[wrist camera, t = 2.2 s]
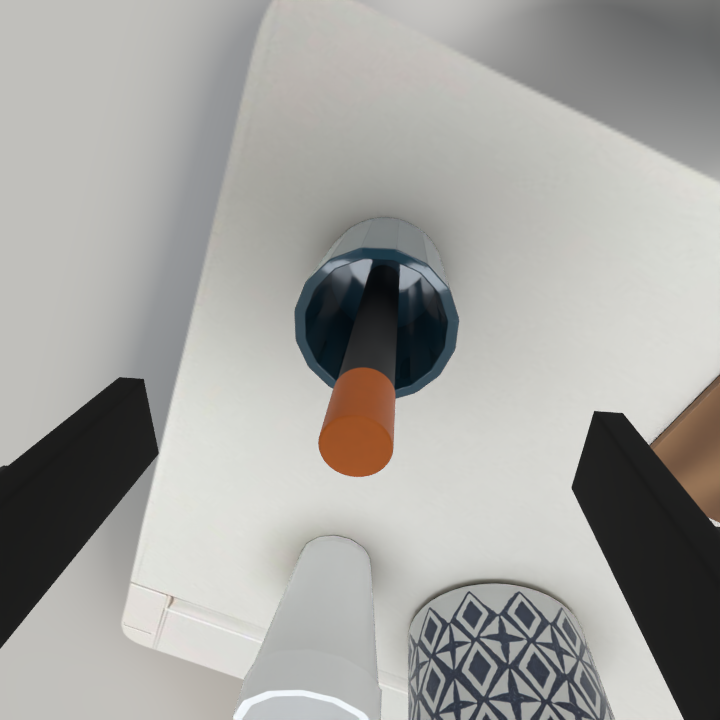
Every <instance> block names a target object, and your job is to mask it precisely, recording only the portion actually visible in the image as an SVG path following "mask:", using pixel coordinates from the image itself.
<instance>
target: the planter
mask: <svg viewBox="0 0 720 720" xmlns="http://www.w3.org/2000/svg"><path fill="white" fill-rule="evenodd" d="M408 720H615V718H614V715H613V713H612V710H611V707H610V704H609V702H608V699H607V696H606V693H605V691H604V688H603V685H602V683H601V680H600V677H599V674H598V672H597V669H596V666H595V663H594V661H593V658H592V655H591V652H590V650H589V647H588V644H587V642H586V639H585V636H584V634H583V631H582V628H581V626H580V624H579V622H578V620H577V619H576V618H575V616H574V615H573V614H572V613H571V612H570V610H569V609H567V608H566V607H565V606H564V605H563V604H561V603H560V602H559V601H557V600H555V599H553V598H552V597H550V596H548V595H546V594H543V593H541V592H539V591H536V590H533V589H529V588H526V587H522V586H516V585H510V584H478V585H472V586H466V587H462V588H459V589H455V590H452V591H450V592H447V593H445V594H442V595H440V596H439V597H437V598H435V599H433V600H432V601H430V602H429V603H428V604H427V605H425V606H424V607H423V608H422V609H421V610H420V611H419V613H418V614H417V615H416V616H415V618H414V620H413V622H412V623H411V626H410V630H409V637H408Z"/></svg>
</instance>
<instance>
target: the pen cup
mask: <svg viewBox="0 0 720 720" xmlns="http://www.w3.org/2000/svg"><path fill="white" fill-rule="evenodd" d="M380 265H386V266H389V267H392V268H393V269H394V270H395V271H396V272H397V274H398V276H399V302H398V323H397V343H396V364H395V385H394V390H395V399H396V398H399V397H403V396H407V395H410V394H414V393H415V392H418V391H419V390H420V389H422V388H423V387H424V386H426V385H427V384H428V383H430V382H431V381H433V380H434V379H435V378H437V377H438V376H439V375H440V374H441V372H442V371H443V369H444V367H445V366H446V364H447V362H448V361H449V359H450V357H451V356H452V354H453V353H454V351H455V348H456V340H457V333H458V325H459V317H458V314H457V310H456V307H455V304H454V301H453V297H452V294H451V291H450V287H449V284H448V281H447V278H446V274H445V271H444V268H443V265H442V261H441V258H440V255H439V251H438V250H437V248H436V247H435V245H434V243H433V242H432V241H431V239H430V238H429V237H428V236H427V235H426V234H425V233H424V232H423V231H422V230H420V229H419V228H418V227H416V226H414V225H413V224H411V223H409V222H406V221H404V220H400V219H396V218H389V217H379V218H373V219H369V220H365V221H362V222H360V223H358V224H356V225H354V226H353V227H351V228H349V229H348V230H347V231H346V232H345V233H344V234H343V235H342V236H341V237H340V238H339V239H338V240H337V241H336V242H335V243H334V244H333V245H332V247H331V248H330V250H329V251H328V252H327V254H326V255H325V256H324V258H323V259H322V260H321V262H320V263H319V265H318V266H317V267H316V269H315V270H314V271H313V273H312V274H311V276H310V277H309V278H308V280H307V281H306V283H305V285H304V287H303V290H302V292H301V295H300V297H299V300H298V302H297V305H296V307H295V336H296V342H297V344H298V346H299V348H300V350H301V352H302V354H303V356H304V359H305V361H306V363H307V365H308V366H309V368H310V369H311V370H312V371H313V372H314V373H315V374H317V375H318V376H319V377H320V378H321V379H322V380H323V381H324V382H325V383H326V384H327V385H328V386H329V387H331V388H333V389H334V386H335V383H336V381H337V380H338V377H339V374H340V370H341V367H342V363H343V360H344V356H345V353H346V350H347V346H348V343H349V339H350V336H351V332H352V329H353V325H354V322H355V319H356V315H357V312H358V308H359V305H360V301H361V298H362V295H363V291H364V288H365V284H366V281H367V277H368V275H369V273H370V271H371V270H372V269H373V268H375V267H377V266H380Z"/></svg>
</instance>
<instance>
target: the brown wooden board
mask: <svg viewBox="0 0 720 720" xmlns="http://www.w3.org/2000/svg"><path fill="white" fill-rule="evenodd" d="M650 447H651V449H652V450H653V451H654V452H655V453H656V455H657V456H658V457H659V458H660V460H661V461H662V462H663V463H664V464H665V466H666V467H667V468H668V469H669V471H670V472H671V473H672V474H673V475H674V477H675V478H676V479H677V480H678V482H679V483H680V484H681V485H682V486H683V488H684V489H685V490H686V491H687V493H688V494H689V495H690V496H691V498H692V499H693V500H694V501H695V502H696V504H697V505H698V506H699V507H700V509H701V510H702V511H703V512H704V513H705V515H706V516H707V517H709V518H711V519H713V520H715V521H717V522H719V523H720V375H719V376H718V377H717V378H716V379H715V381H714V382H713V383H712V384H711V385H710V386H709V387H708V388H707V389H706V390H705V391H704V392H703V393H702V394H701V395H700V396H699V397H698V398H697V399H696V400H695V401H694V402H693V403H692V404H691V405H690V406H689V407H688V408H687V409H686V410H685V411H684V412H683V413H682V414H681V415H680V416H679V417H678V418H677V419H676V420H675V421H674V422H673V423H672V424H671V425H670V426H669V427H668V428H667V429H666V430H665V431H664V432H663V433H662V434H661V435H660V436H659V437H658V438H657V439H656V440H655V441H654V442H653V443H652V444H651V445H650Z"/></svg>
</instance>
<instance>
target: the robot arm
mask: <svg viewBox="0 0 720 720" xmlns="http://www.w3.org/2000/svg"><path fill="white" fill-rule="evenodd" d="M158 454H159V452H158V447H157V442H156V438H155V432H154V427H153V423H152V418H151V413H150V408H149V403H148V398H147V393H146V389H145V383H144V379H135V378H122V377H119V378H118V379H117V380H115V381H114V382H113V383H112V384H110V385H109V386H108V387H106V388H105V389H104V390H103V391H101V392H100V393H99V394H98V395H96V396H95V397H94V398H93V399H91V400H90V401H89V402H88V403H87V404H85V405H84V406H83V407H81V408H80V409H79V410H78V411H76V412H75V413H74V414H73V415H71V416H70V417H69V418H68V419H66V420H65V421H64V422H63V423H61V424H60V425H59V426H58V427H57V428H55V429H54V430H53V431H51V432H50V433H49V434H48V435H46V436H45V437H44V438H42V439H41V440H40V441H39V442H37V443H36V444H35V445H34V446H32V447H31V448H30V449H29V450H27V451H26V452H25V453H24V454H23V455H21V456H20V457H19V458H18V459H16V460H15V461H14V462H12V463H11V464H10V465H9V466H2V467H0V648H1V647H2V646H3V645H4V643H5V642H6V641H7V640H8V639H9V637H10V636H11V635H12V634H13V632H14V631H15V630H16V629H17V627H18V626H19V625H20V624H21V623H22V621H23V620H24V619H25V618H26V616H27V615H28V614H29V613H30V611H31V610H32V609H33V608H34V607H35V605H36V604H37V603H38V602H39V600H40V599H41V598H42V597H43V595H44V594H45V593H46V592H47V591H48V589H49V588H50V587H51V585H52V584H53V583H54V582H55V581H56V579H57V578H58V577H59V576H60V575H61V573H62V572H63V571H64V570H65V568H66V567H67V566H68V565H69V563H70V562H71V561H72V560H73V558H74V557H75V556H76V555H77V553H78V552H79V551H80V550H81V549H82V547H83V546H84V545H85V544H86V542H87V541H88V540H89V539H90V537H91V536H92V535H93V534H94V533H95V531H96V530H97V529H98V528H99V526H100V525H101V524H102V523H103V521H104V520H105V519H106V518H107V517H108V515H109V514H110V513H111V512H112V510H113V509H114V508H115V507H116V506H117V504H118V503H119V502H120V501H121V499H122V498H123V497H124V496H125V494H126V493H127V492H128V491H129V490H130V488H131V487H132V486H133V485H134V483H135V482H136V481H137V480H138V478H139V477H140V476H141V475H142V474H143V472H144V471H145V470H146V468H147V467H148V466H149V465H150V464H151V462H152V461H153V460H154V459H155V458H156V456H157V455H158ZM572 490H573V492H574V494H575V496H576V498H577V500H578V503H579V505H580V507H581V509H582V511H583V513H584V515H585V517H586V519H587V521H588V523H589V525H590V527H591V529H592V531H593V533H594V535H595V538H596V540H597V542H598V544H599V546H600V548H601V550H602V552H603V554H604V556H605V558H606V560H607V562H608V564H609V566H610V568H611V570H612V573H613V575H614V577H615V579H616V581H617V583H618V585H619V587H620V589H621V591H622V593H623V595H624V597H625V599H626V601H627V603H628V605H629V608H630V610H631V612H632V614H633V616H634V618H635V620H636V622H637V624H638V626H639V628H640V630H641V632H642V634H643V636H644V638H645V640H646V643H647V645H648V647H649V649H650V651H651V653H652V655H653V657H654V659H655V661H656V663H657V665H658V667H659V669H660V671H661V673H662V675H663V678H664V680H665V682H666V684H667V686H668V688H669V690H670V692H671V694H672V696H673V698H674V700H675V702H676V704H677V706H678V708H679V710H680V713H681V715H682V717H683V719H684V720H720V527H715V526H714V524H713V523H712V522H711V521H710V520H709V518H708V517H707V516H706V515H705V513H704V512H703V511H702V510H701V509H700V507H699V506H698V505H697V504H696V502H695V501H694V500H693V499H692V498H691V496H690V495H689V494H688V493H687V491H686V490H685V489H684V488H683V486H682V485H681V484H680V483H679V482H678V480H677V479H676V478H675V477H674V475H673V474H672V473H671V472H670V471H669V469H668V468H667V467H666V466H665V464H664V463H663V462H662V461H661V460H660V458H659V457H658V456H657V455H656V453H655V452H654V451H653V450H652V449H651V447H650V446H649V445H648V444H647V442H646V441H645V440H644V439H643V437H642V436H641V435H640V434H639V433H638V431H637V430H636V429H635V428H634V426H633V425H632V424H631V423H630V422H629V420H628V419H627V418H626V417H625V415H624V414H623V413H613V412H599V411H594V414H593V417H592V420H591V424H590V427H589V430H588V434H587V437H586V441H585V444H584V447H583V451H582V454H581V457H580V461H579V464H578V468H577V471H576V474H575V478H574V481H573V484H572Z"/></svg>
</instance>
